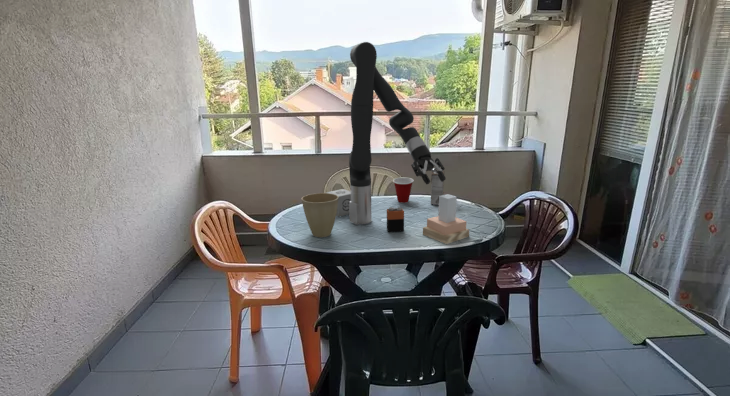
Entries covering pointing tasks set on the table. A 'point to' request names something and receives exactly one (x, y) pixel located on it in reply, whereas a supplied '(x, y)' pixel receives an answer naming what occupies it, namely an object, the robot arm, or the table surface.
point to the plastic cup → (403, 188)
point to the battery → (395, 219)
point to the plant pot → (320, 212)
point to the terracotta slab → (446, 225)
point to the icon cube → (342, 201)
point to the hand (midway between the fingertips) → (436, 181)
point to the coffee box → (436, 188)
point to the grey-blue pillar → (447, 208)
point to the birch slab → (445, 238)
